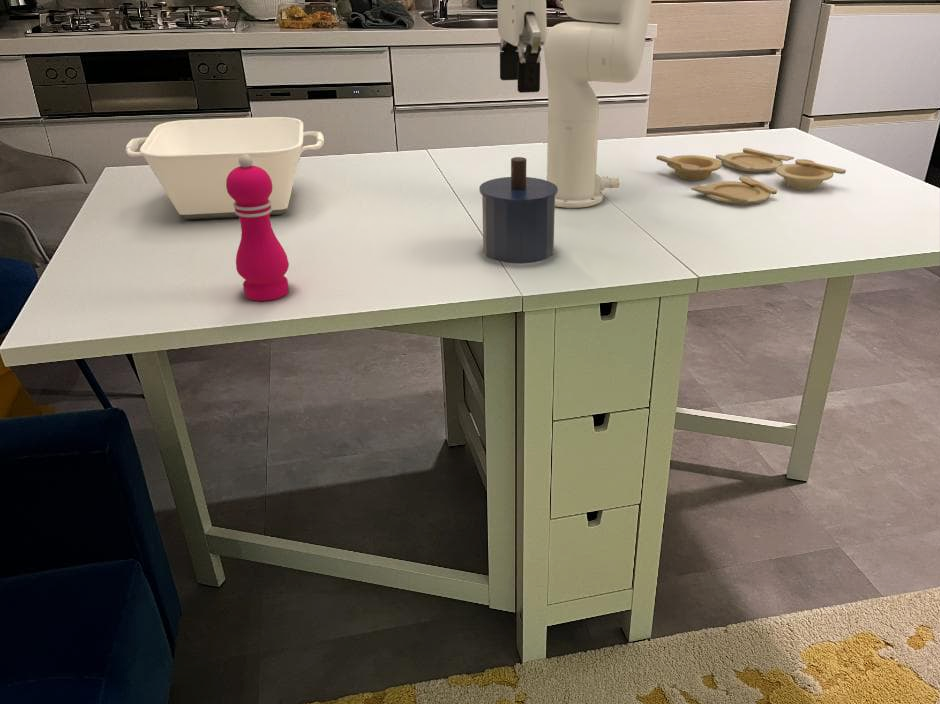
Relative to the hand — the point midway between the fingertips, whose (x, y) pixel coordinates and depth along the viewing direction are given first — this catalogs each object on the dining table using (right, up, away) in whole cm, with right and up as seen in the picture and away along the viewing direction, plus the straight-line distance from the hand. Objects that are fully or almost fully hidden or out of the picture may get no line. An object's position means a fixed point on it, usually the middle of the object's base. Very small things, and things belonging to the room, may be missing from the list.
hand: (519, 85), depth 124 cm
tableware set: (+46, 0, +53) cm, 70 cm away
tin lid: (0, -14, +8) cm, 16 cm away
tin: (0, -22, +14) cm, 26 cm away
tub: (-54, -10, +33) cm, 64 cm away
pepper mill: (-37, -31, -2) cm, 48 cm away
